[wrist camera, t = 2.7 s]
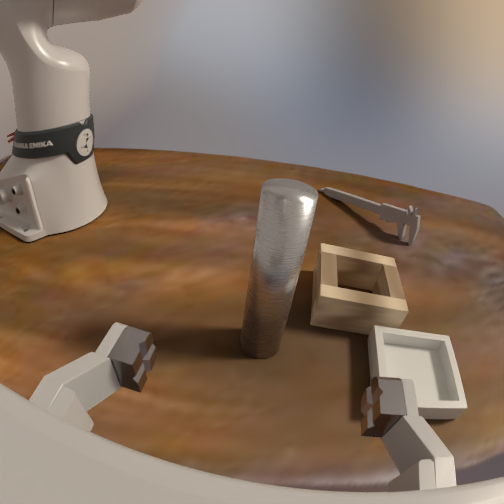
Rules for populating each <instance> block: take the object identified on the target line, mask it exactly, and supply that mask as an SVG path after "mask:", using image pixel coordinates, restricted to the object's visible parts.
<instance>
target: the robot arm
mask: <svg viewBox="0 0 504 504" xmlns="http://www.w3.org/2000/svg"><path fill="white" fill-rule="evenodd" d="M141 2H142V0H0V53H1V55H2V56H3V58H4V60H5V61H6V63H7V66H8V68H9V71H10V75H11V79H12V85H13V94H14V102H15V111H16V121H17V129H16V131H15V132H14V133H11V134H9V135H8V136H7V137H9V136H12V135H14V137H13V138H11V139H10V140H8V142H11V141H13V140H14V142H13V150H12V154H13V155H12V156H11V158H10V159H9V160H8V162H7V163H6V165H5V166H4V168H3V169H2V170H1V172H0V227H1V228H3V229H5V230H6V231H8V232H10V233H11V234H13V235H15V236H16V237H18V238H20V239H22V240H23V241H25V242H31V241H34V240H37V239H39V238H42V237H44V236H46V235H50V234H56V233H61V232H66V231H69V230H73V229H76V228H78V227H81V226H83V225H85V224H87V223H89V222H91V221H92V220H94V219H95V218H97V217H98V216H99V215H100V214H101V213H102V212H103V211H104V210H105V208H106V206H107V198H106V196H105V194H104V192H103V189H102V186H101V183H100V180H99V176H98V172H97V168H96V163H95V158H94V152H93V149H94V123H93V115H92V114H91V113H90V67H89V64H88V62H87V60H86V59H85V58H84V57H83V56H82V55H80V54H79V53H77V52H75V51H72V50H70V49H67V48H64V47H61V46H57V45H55V44H53V43H51V42H50V41H49V40H48V37H47V30H48V29H49V28H50V27H53V26H56V25H63V24H70V23H78V22H87V21H96V20H102V19H106V18H111V17H115V16H119V15H123V14H128V13H131V12H132V11H133V10H135V9H136V8H137V7H138V6H139V5H140V3H141ZM153 341H154V336H153V333H149V332H146V331H143V330H140V329H136V328H133V327H130V326H127V325H124V324H121V323H117V322H116V323H114V324H113V325H112V326H111V328H110V330H109V331H108V333H107V334H106V336H105V337H104V339H103V340H102V342H101V344H100V345H99V347H98V348H97V350H96V351H95V353H94V352H90V353H88V354H86V355H84V356H82V357H80V358H78V359H76V360H74V361H72V362H71V363H69V364H67V365H65V366H63V367H61V368H59V369H57V370H55V371H53V372H51V373H49V374H47V375H45V376H44V377H43V379H42V381H41V382H40V384H39V385H38V387H37V388H36V390H35V391H34V393H33V395H32V396H31V398H30V399H29V400H27V399H25V398H24V397H22V396H20V395H19V394H17V393H15V392H14V391H12V390H11V389H9V388H7V387H6V386H4V385H3V384H1V383H0V504H504V477H500V478H496V479H491V480H487V481H482V482H476V483H471V484H465V485H459V486H456V476H455V466H454V457H453V456H452V454H451V453H450V452H449V450H448V449H447V448H446V446H445V445H444V444H443V442H442V441H441V440H440V439H439V437H438V436H437V435H436V433H435V432H434V431H433V430H432V428H431V427H430V426H429V424H428V423H427V422H426V420H425V419H424V418H423V417H422V416H419V413H418V406H417V399H416V392H415V386H414V382H413V380H412V379H400V378H392V377H380V376H375V377H374V378H373V379H372V380H371V386H370V387H368V388H366V390H365V391H364V393H363V396H362V399H361V412H362V413H363V415H364V418H363V419H362V420H361V436H367V437H380V438H381V440H382V441H383V443H384V445H385V447H386V449H387V450H388V452H389V454H390V456H391V458H392V459H393V461H394V463H395V465H396V467H397V468H398V470H399V472H400V475H399V476H398V477H396V478H395V479H393V480H392V481H390V482H389V492H337V491H321V490H309V489H299V488H290V487H282V486H275V485H268V484H262V483H256V482H250V481H245V480H240V479H235V478H230V477H225V476H221V475H216V474H212V473H208V472H204V471H200V470H196V469H192V468H189V467H185V466H182V465H178V464H175V463H172V462H168V461H165V460H162V459H159V458H156V457H153V456H150V455H147V454H144V453H141V452H138V451H136V450H133V449H130V448H128V447H125V446H122V445H120V444H117V443H115V442H112V441H110V440H107V439H105V438H103V437H100V436H98V435H96V434H93V433H91V432H90V431H91V429H92V427H93V425H94V423H93V421H92V419H91V418H90V416H89V414H88V413H87V411H88V410H90V409H91V408H92V407H94V406H95V405H97V404H98V403H100V402H101V401H102V400H104V399H105V398H107V397H108V396H110V395H111V394H112V393H114V392H115V391H117V390H118V389H119V388H121V386H122V387H125V388H128V389H131V390H134V391H137V392H141V391H142V389H143V387H144V385H145V383H146V380H147V376H146V373H147V372H149V371H150V370H152V368H153V365H154V363H155V359H156V347H155V346H154V345H153V344H152V343H153Z"/></svg>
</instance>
